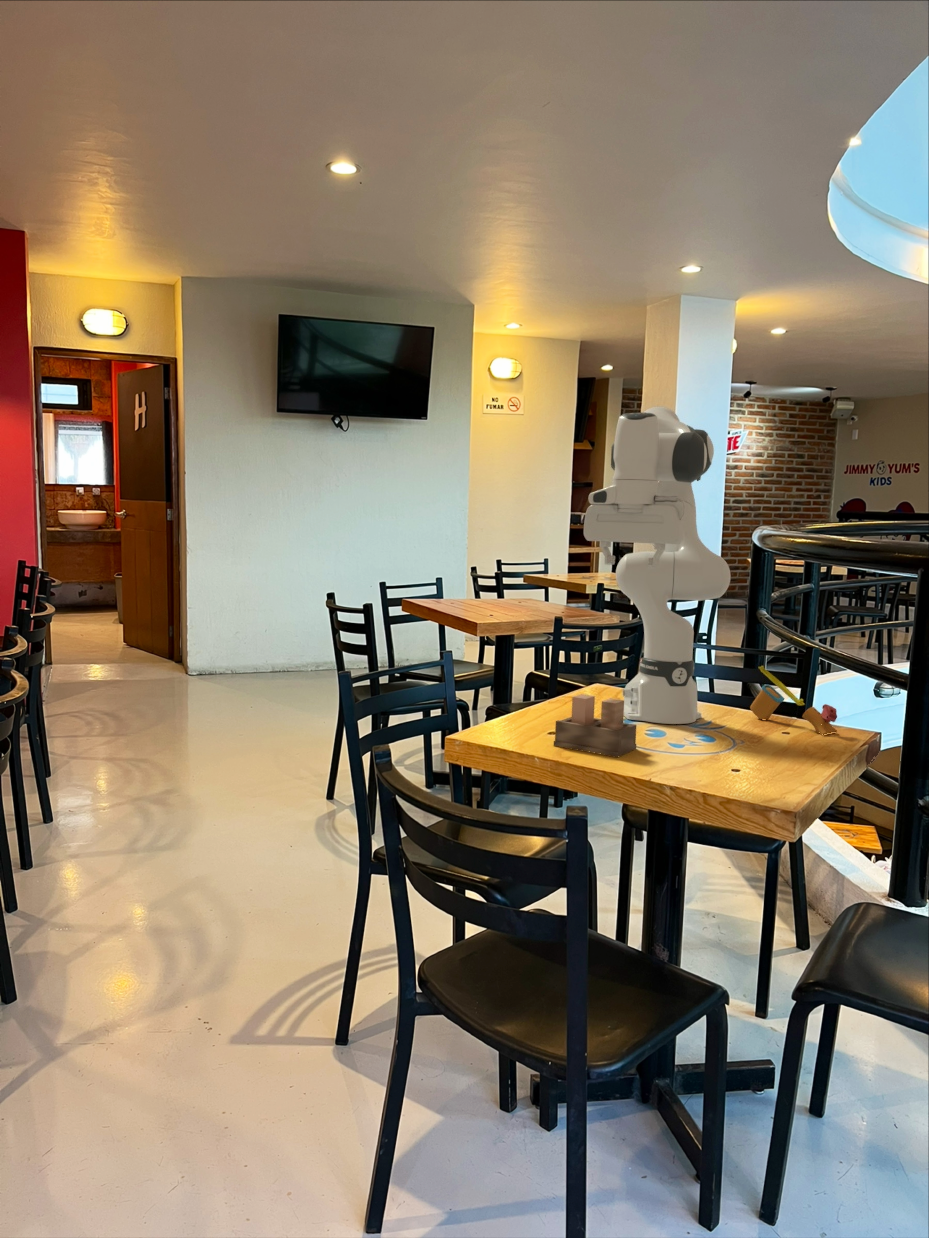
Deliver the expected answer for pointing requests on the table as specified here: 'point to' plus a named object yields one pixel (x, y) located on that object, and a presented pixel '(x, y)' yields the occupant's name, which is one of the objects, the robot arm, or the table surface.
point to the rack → (599, 732)
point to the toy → (771, 700)
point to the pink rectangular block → (583, 709)
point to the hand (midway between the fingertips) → (631, 565)
